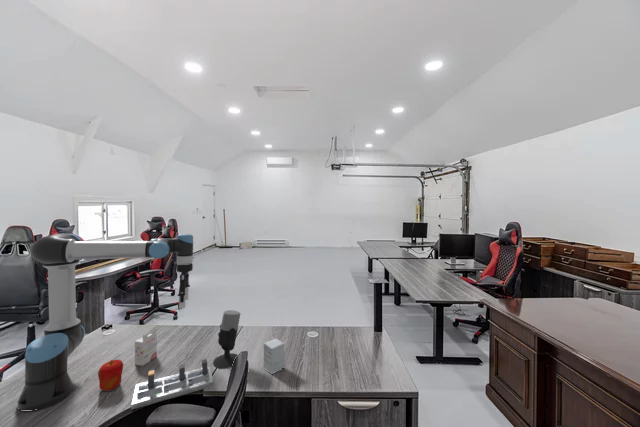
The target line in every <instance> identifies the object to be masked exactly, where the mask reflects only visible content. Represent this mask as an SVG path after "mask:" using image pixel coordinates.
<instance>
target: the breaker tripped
mask: <svg viewBox="0 0 640 427" xmlns="http://www.w3.org/2000/svg"><path fill="white" fill-rule="evenodd" d="M154 380H155V369H153V370H148V374H147V381H148V385H147V389H149V388H153V387H156V383H154Z"/></svg>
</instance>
